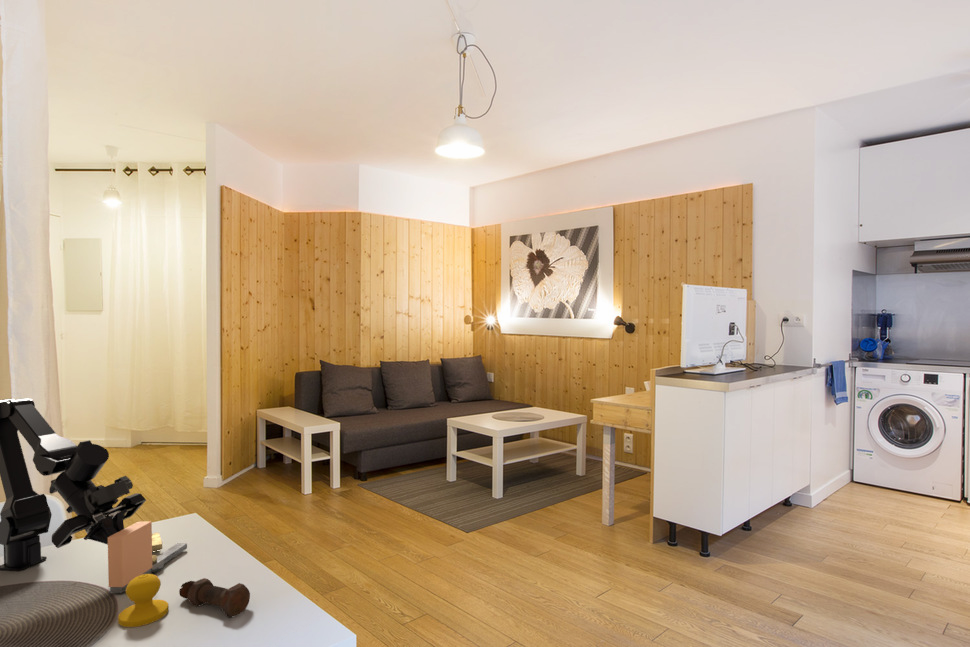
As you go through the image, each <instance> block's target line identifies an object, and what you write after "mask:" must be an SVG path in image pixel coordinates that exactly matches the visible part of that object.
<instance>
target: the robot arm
mask: <svg viewBox="0 0 970 647" xmlns="http://www.w3.org/2000/svg"><path fill="white" fill-rule="evenodd" d="M19 433H20V434H21V436H22V437H23V438H24V440H25V441H26V443H28V445H29V446H30V447H31V449H32V450H33V452H34V454H33V457H32V463H33V464H34V467H35V469H36V470H37V472H38V473H39V474H40V475H42V476H43V477H45V476H52V475H57V474H58V475H57V477H56V478H54V479H52V480H51V481H50V487H49V491H48V492H49V494H51V495H52V494H54V493H58V494H59V495H60V496H61V498H62V499H63V500H64V501H65V502H66V504H67V505H68V507H67V508H66V510H65V511H66V512H67V513H68V514H71V513H73V512H74V514H75V516H72V517H70V518H68V519H65V520H64V521H63V522H62V523H61V524H60V525H59V527H58V528H57V529H56V530H55V531H53V533H52V535H51V543H52V544H53V545H54V547H56V549H60V548H62V547H64V546H66V545H67V546H68V544H70V543H71V542H72V539H73V536H72V535H74V534H76V533H79V532H81V531H84V530H85V533H86V535H85V536H84V537H83V540H84V541H87V540H91V541H94V542H98V543H102V544H105V545H107V546H108V537H110V536H112V535H113V534H115V533H117V532H119V531H121V530H123V529H125V525H124V521H125V520H127V519H130V518H131V517H132V516H134V514H136V513H137V511H138V510H139V509H140V508H141V507H142V506H143V505H144V503H146V501H147V499H146V498H145V497H144V495H142V493H138V492H137V493H134V494H131V491H130V490H131V489H133V487H134V484H133V482H132V480H131V479H130V478H129V477H128V476H127V475H123V476H121V477H119V478H117V479H115V480H114V482H113V483H112V484H108V485H106V486H105V485H103V484H100V485H98V486H97V485H96V484H95V483H94V482H93V481H92V480H94V479H95V478H96V477H97V475H98V474H99V473H100V471H101V470H102V468H103V467H104V465H105V464H106V462H107V461H108V460H109V458H110V453H109V451H108V450H107V448H104V446H101V445H100V444H96V443H92V441H91V440H90V439H89V440H84V441H79V443H78V444H76V443H75V442H73V441H72V440H71V439H69V438H66V437H63V436H61V435H59V434H57V432H56V431H55V430H54V429H53V427H52V426H50V424H49V423H48V422H47V420H46V419H45V417H43V415H42V414H41V413H40V412H39V411H38V409H37V408H36V405H35V401H34V400H33V399H32V398H27V397H26V398H25V397H24V398H16V399H15V398H5V399H0V480H1V484H2V489H3V492H4V496H5V502H4V503H3V506H2V508H1V511H0V545H2V546H3V563H2V564H0V570H2V571H4V570H6V571H19V572H20V571H23V570H25V569H28V568H30V567H31V566H33V565H36V564H38V563H40V562H43V561H45V560H47V558H48V557H47V556H43V555H42V543H41V538H40V535H42V534H46V533H49V529H50V526H51V525H50V524H51V519H52V515H53V514H52V511H51V508H50V506H49V503H48V500H47V495H45V494H44V493H41V494H39V493H38V492H36V491H35V490H34V488H33V485H32V482H31V478H30V473H29V470H28V466H27V463H26V459H25V455H24V452H23V449H22V444H21V442H20V438H19ZM125 495H128V496H125ZM123 496H125V497H123ZM121 497H123V499H121V501H120V502H119V498H121ZM118 502H119V503H118ZM116 504H117V505H116ZM115 505H116V506H115Z"/></svg>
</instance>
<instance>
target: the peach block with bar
mask: <svg viewBox="0 0 970 647" xmlns="http://www.w3.org/2000/svg"><path fill="white" fill-rule="evenodd" d="M152 525H153V524H152V521H151V520H150V521H145V520H144V521H137V522H134V523H133V524H130V525H129V526H127V527H124V529H123V530H121V531H119V532H117V533H115V534H113V535H112V536H110V537H108V545H107V562H108V563H107V567H108V568H107V570H108V571H107V572H108V573H107V576H108V577H107V578H108V579H107V580H108V588H109V592H110V594H122V593H123V592H126V587H127V585H128V584H129V582H130V581H131V580H132V579H134V578H135V577H137V576H140V575H143V574H152V573H155V572H159V571H160V570H162V569H163V568H164V565H165V564H167V563H168V562H170V560H172V559H174V558H176V557H177V556H178V555H181V553H182V552H183V551H186V550H187V549H188V543H186V542H185V543H182V542H181V543H175V544H174V545H173V546H171V547H170V548H168V549H167V550H165V551H163V552H162V553H161V554H159V555H157V562H156V563H154V564H152V555H153V553H152V534H153V530H152V529H153V527H152Z"/></svg>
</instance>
